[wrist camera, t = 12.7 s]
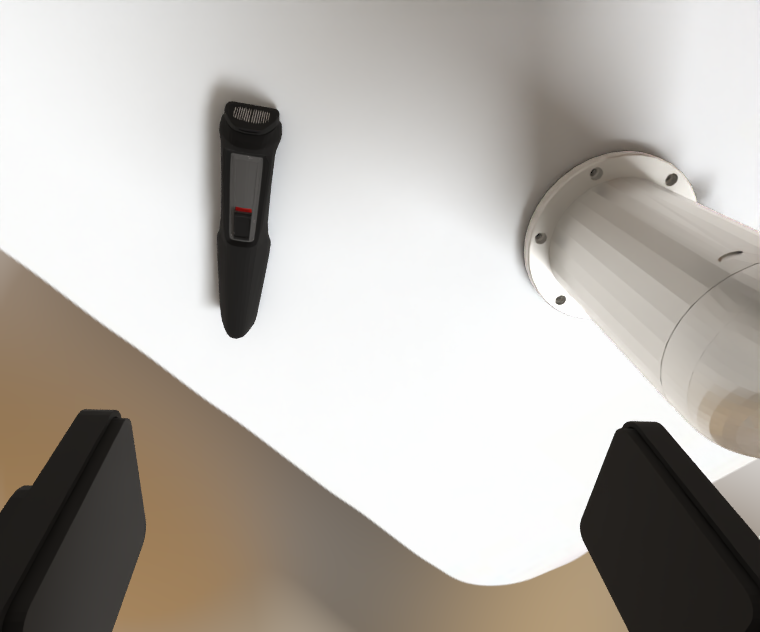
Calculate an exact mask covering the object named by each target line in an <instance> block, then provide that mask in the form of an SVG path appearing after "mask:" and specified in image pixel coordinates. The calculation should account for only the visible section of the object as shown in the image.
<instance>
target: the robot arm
mask: <svg viewBox="0 0 760 632" xmlns="http://www.w3.org/2000/svg"><path fill="white" fill-rule="evenodd" d="M593 169H594V171H593V173H591V171H592V170H593ZM590 173H591V174H590ZM539 233H540V234H539ZM537 234H539V236H538V237H536V235H537ZM524 259H525V267H526V270H527V273H528V276H529V279H530V281H531V283H532V284H533V286H534V288H535V289H536V291H537V292H538V293H539V294H540V296H541V297H542V298H543V299H544V300H545V301H546V302H547V303H548V304H549V305H551V306H552V307H553V308H555V309H556V310H558V311H561V312H563V313H565V314H567V315H570V316H574V317H579V318H590V319H591V320H592V321H593V322H594V323H595V324H596V325H597V326H598V327H599V328H600V330H601V331H602V332H603V333H604V334H605V335H606V336H607V337H608V338H609V339H610V340H611V341H612V343H613V344H614V345H615V346H616V347H617V348H618V349H619V350H620V351H621V352H622V353H623V354H624V355H625V357H626V358H627V359H628V360H629V361H630V362H631V363H632V364H633V365H634V366H635V367H636V368H637V370H638V371H639V372H640V373H641V374H642V375H643V376H644V377H645V378H646V379H647V380H648V381H649V383H650V384H651V385H652V386H653V387H654V388H655V389H656V390H657V391H658V392H659V393H660V394H661V395H662V397H663V398H664V399H665V400H666V401H667V402H668V403H669V404H670V405H671V406H672V407H673V408H674V409H675V410H676V411H677V412H678V413H679V414H680V415H681V416H682V418H683V419H684V420H685V421H686V422H687V423H688V424H689V425H690V426H692V427H693V428H694V429H695V430H696V431H697V432H698V433H700V434H701V435H702V436H704V437H705V438H707V439H708V440H710V441H711V442H713V443H715V444H717V445H719V446H721V447H723V448H725V449H728V450H730V451H733V452H736V453H739V454H743V455H746V456H750V457H755V458H759V459H760V232H759V231H757V230H755V229H753V228H751V227H749V226H746V225H744V224H742V223H740V222H738V221H736V220H733V219H731V218H729V217H727V216H725V215H723V214H720V213H718V212H716V211H714V210H712V209H710V208H708V207H705V206H703V205H701V204H699V203H697V199H696V196H695V193H694V191H693V188H692V186H691V184H690V182H689V181H688V180H687V178H686V177H685V176H684V174H683V173H682V172H681V171H680V170H679V169H677V168H676V167H675V166H674V165H672V164H671V163H670V162H667V161H665V160H663V159H661V158H659V157H656V156H653V155H650V154H647V153H644V152H634V151H621V152H612V153H607V154H604V155H601V156H598V157H594V158H592V159H590V160H588V161H586V162H584V163H582V164H580V165H578V166H576V167H575V168H573V169H572V170H571V171H569V172H568V173H566V174H565V175H564V176H562V177H561V178H560V179H559V180H558V181H557V182H556V183H555V184H554V185H553V186H552V187H551V188H550V189H549V190H548V191H547V193H546V194H545V196H544V197H543V198H542V200H541V201H540V203H539V204H538V205H537V207H536V209H535V211H534V213H533V216H532V218H531V220H530V222H529V225H528V229H527V233H526V236H525V245H524ZM145 532H146V521H145V513H144V507H143V499H142V493H141V487H140V480H139V472H138V466H137V459H136V452H135V445H134V438H133V432H132V425H131V421H130V420H129V419H128V418H121V415H120V413H119V411H117V410H91V409H88V410H87V409H84V410H82V411H80V413H79V414H78V415H77V417H76V418H75V420H74V421H73V423H72V424H71V426H70V428H69V429H68V431H67V432H66V434H65V435H64V437H63V439H62V440H61V442H60V443H59V445H58V446H57V448H56V449H55V451H54V453H53V454H52V456H51V457H50V459H49V461H48V462H47V464H46V465H45V467H44V468H43V470H42V471H41V473H40V474H39V476H38V478H37V479H36V481H35V482H34V484H33V485H32V486H22V487H21V488H19V489H18V490H16V491H15V493H14V494H13V495H12V496H11V497H10V499H9V500H8V502H7V503H6V505H5V506H4V508H3V509H2V511H1V512H0V632H112V630H113V627H114V625H115V622H116V619H117V616H118V613H119V610H120V608H121V605H122V602H123V599H124V596H125V593H126V591H127V588H128V585H129V582H130V579H131V576H132V573H133V571H134V568H135V565H136V562H137V559H138V557H139V554H140V551H141V548H142V545H143V542H144V538H145ZM580 532H581V536H582V539H583V541H584V543H585V545H586V547H587V549H588V551H589V553H590V555H591V557H592V559H593V561H594V563H595V565H596V567H597V569H598V571H599V573H600V575H601V577H602V579H603V581H604V583H605V585H606V587H607V589H608V591H609V593H610V595H611V597H612V599H613V601H614V603H615V605H616V607H617V609H618V611H619V613H620V615H621V617H622V619H623V620H624V623H625V624H626V626H627V628H628V630H629V632H760V536H759V537H757V536H756V535H755V533H754V532H753V531H752V530H751V529H750V527H749V526H748V525H747V524H746V523H745V522H744V520H743V519H742V518H741V517H740V516H739V515H738V514H737V512H736V511H735V510H734V509H733V508H732V507H731V505H730V504H729V503H728V502H727V501H726V499H725V498H724V497H723V496H722V495H721V494H720V493H719V491H718V490H717V489H716V488H715V486H714V485H713V484H712V483H711V482H710V481H709V479H708V478H707V477H706V476H705V475H704V474H703V472H702V471H701V470H700V469H699V468H698V467H697V465H696V464H695V463H694V462H693V461H692V460H691V458H690V457H689V456H688V455H687V454H686V452H685V451H684V450H683V449H682V448H681V447H680V445H679V444H678V443H677V442H676V441H675V440H674V438H673V437H672V436H671V435H670V434H669V433H668V431H667V430H666V429H665V428H664V427H663V426H662V425H661V424H660V423H657V422H639V421H630V422H627V423H625V424H624V425H623V427H622V428H621V429H618V430H617V431H616V432H615V434H614V437H613V439H612V442H611V444H610V447H609V450H608V452H607V455H606V457H605V460H604V462H603V465H602V468H601V470H600V473H599V475H598V478H597V480H596V483H595V486H594V488H593V491H592V493H591V496H590V498H589V501H588V503H587V506H586V509H585V511H584V514H583V516H582V519H581V523H580Z"/></svg>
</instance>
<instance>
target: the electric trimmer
mask: <svg viewBox="0 0 760 632" xmlns="http://www.w3.org/2000/svg"><path fill="white" fill-rule="evenodd" d="M219 131H220V138H221V180H222V182H221V221H220V229H219V232H218V235H217V248H218V273H219V293H220V309H221V317H222V322H223V325H224V328H225V330H226V332H227V334H228V335H229V336H230V337H232V338H235V339H237V338H241V337H243V336H244V335H245V334H246V333H247V332H248V331H249V330H250V328H251V327H252V326H253V324H254V322H255V319H256V316H257V312H258V307H259V302H260V297H261V292H262V288H263V283H264V278H265V273H266V268H267V263H268V257H269V251H270V245H271V242H270V238H269V235H268V213H269V203H270V193H271V183H272V175H273V168H274V160H275V154H276V150H277V147H278V145H279V142H280V140H281V136H282V124H281V122H280V121H279V111H278V110H276V109H273V108H267V107H261V106H255V105H250V104H244V103H238V102H228V103H227V104H226V106H225V113H224V114H223V116H222V118H221V122H220V129H219Z"/></svg>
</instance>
